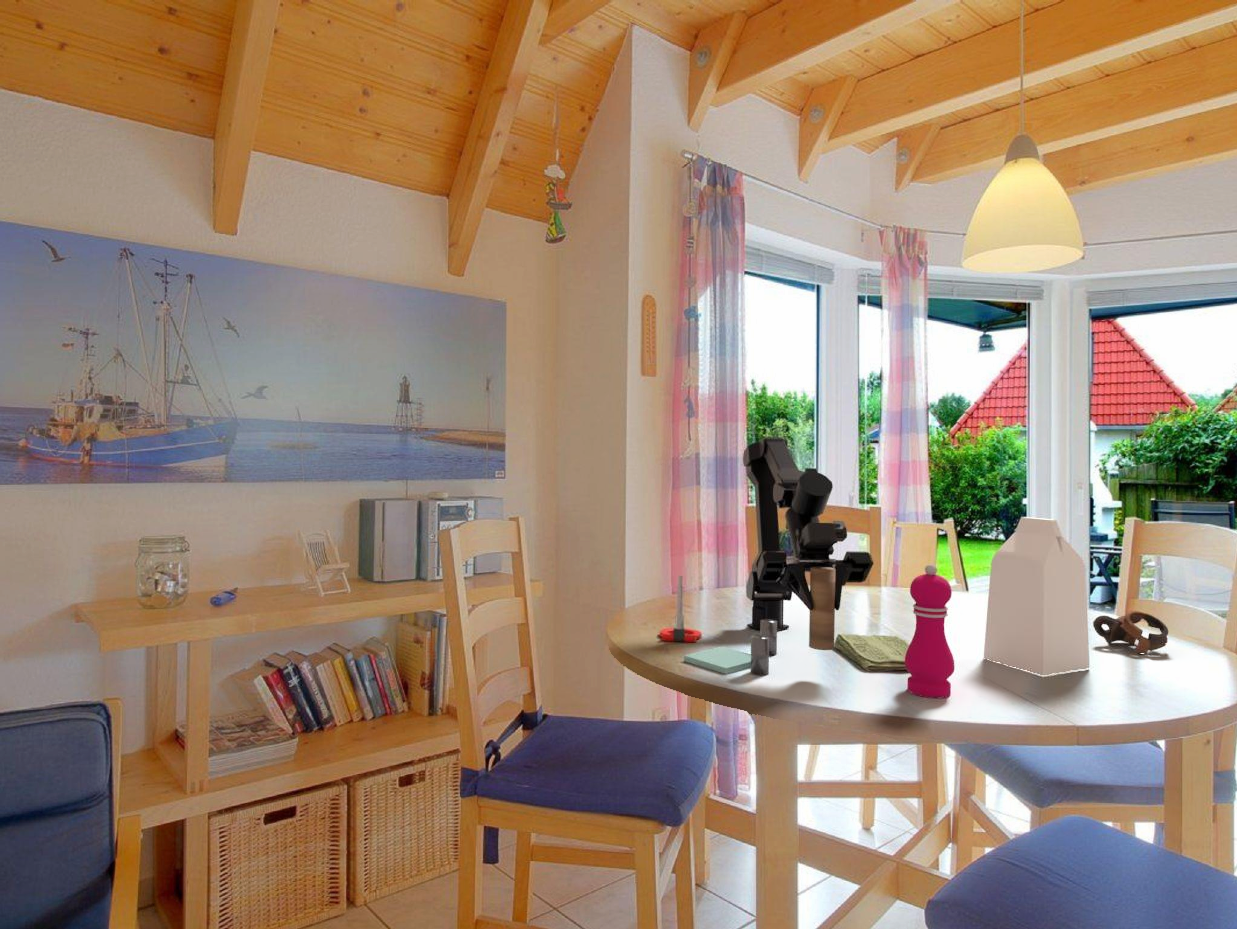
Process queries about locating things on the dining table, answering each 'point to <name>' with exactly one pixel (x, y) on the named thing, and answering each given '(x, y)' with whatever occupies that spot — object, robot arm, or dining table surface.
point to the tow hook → (680, 623)
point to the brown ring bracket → (1132, 630)
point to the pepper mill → (930, 637)
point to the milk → (1037, 602)
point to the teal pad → (720, 659)
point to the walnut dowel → (822, 608)
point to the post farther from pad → (770, 634)
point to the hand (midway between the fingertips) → (824, 608)
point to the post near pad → (759, 655)
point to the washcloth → (874, 651)
